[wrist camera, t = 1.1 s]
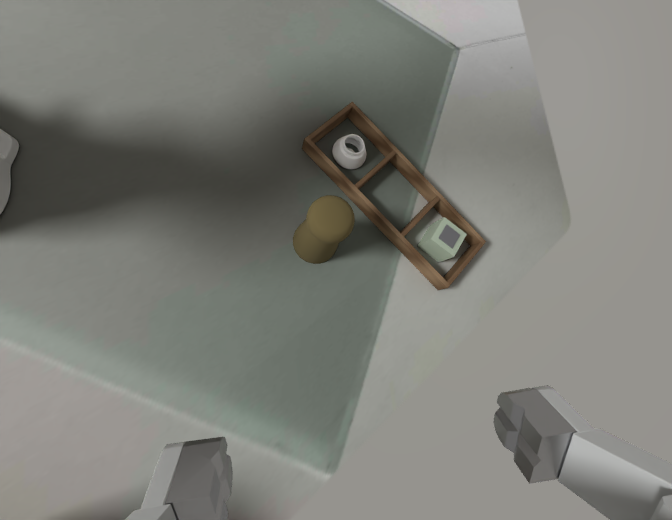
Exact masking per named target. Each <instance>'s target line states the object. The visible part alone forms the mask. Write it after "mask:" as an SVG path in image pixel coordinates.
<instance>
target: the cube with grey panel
mask: <svg viewBox="0 0 672 520" xmlns="http://www.w3.org/2000/svg"><path fill="white" fill-rule="evenodd" d="M466 235H467V234H466V233H465V232H463V231H462V230H461V229H459V228H458V227H457V226H456V225H454V224H453V223H452V222H450V221H449V220H448V219H446V218H445V217H443V218H441V219H440V220H438V221H437V222H435V223H433V224H432V225H430V226H429V228H428V229H427V231H426V233H425V234H424V236H423V237H422V239H421V241H420V242H419V244H418V247H419V248H420V249H422V250H423V251H424V252H425V253H427V254H428V255H429V256H431V257H432V258H433V259H435V260H436V261H437V262H441V261H444V260H447V259H449V258H452V257H454V256H455V254H456V252H457V251H458V249H459V247H460V245H461V244H462V242H463V240H464V238H465V237H466Z"/></svg>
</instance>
